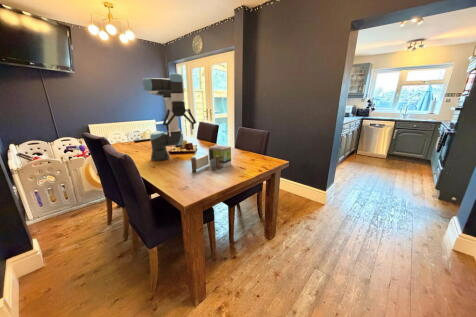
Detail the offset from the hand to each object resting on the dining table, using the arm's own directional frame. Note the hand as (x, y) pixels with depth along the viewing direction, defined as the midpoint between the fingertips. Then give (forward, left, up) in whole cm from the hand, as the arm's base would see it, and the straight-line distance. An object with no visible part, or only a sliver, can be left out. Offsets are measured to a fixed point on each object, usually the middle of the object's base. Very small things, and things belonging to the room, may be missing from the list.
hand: (181, 135), depth 124 cm
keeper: (-2, +21, -28) cm, 35 cm away
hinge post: (-3, +7, -28) cm, 29 cm away
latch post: (-3, +25, -28) cm, 38 cm away
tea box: (-12, +30, -28) cm, 42 cm away
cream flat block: (-9, +14, -26) cm, 31 cm away
